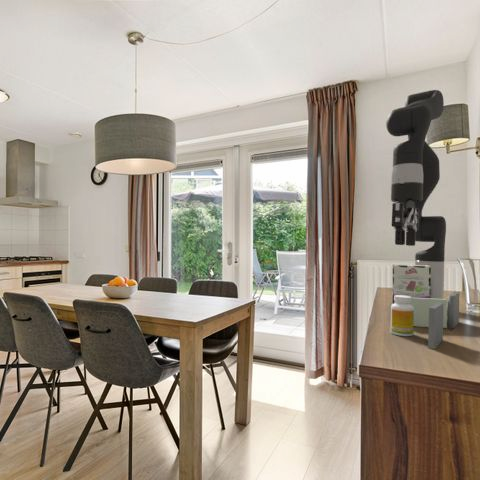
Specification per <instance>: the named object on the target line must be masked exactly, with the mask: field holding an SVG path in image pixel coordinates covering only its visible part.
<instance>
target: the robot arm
mask: <svg viewBox="0 0 480 480" xmlns="http://www.w3.org/2000/svg"><path fill="white" fill-rule="evenodd" d="M444 105H445V103H444V96H443V93H442V91H440V90H439V89H432V90H431V89H430V90H427V91H426V90H425V91H422V92H417V93H413V94H412V93H411V94H409V95H407V97H406V98H405V101H404V106H403V107H399V108H394V109H393V110H392V111H391V112H390V113H389V114H388V116H387V118H386V123H385V126H386V130H387V132H388V133H389V135H391V136H393V137H405V136H407V140H406V141H404V142H401V143H398V144H397V145H395V146H394V148H393V151H392V152H393V154H392V156H393V157H392V171H391V183H390V184H391V185H390V201H391V202H392V206H391V207H392V209H391V212H392V213H391V227H392V228H393V229H394V234H395V235H394V236H395V237H394V244H395V245H397V246H404V245H406V246H408V247H410V246H411V247H414V246H415V245H416V242H418V243H422V242H424V243H434V244H433V245H432V246H431V247H430V248H427V249H425V250H420V251H417V252H415V257H414V258H415V260H414V261H415V262H414V265H427V266H431V289H430V298H434V299H445V297H444V296H445V295H444V293H445V288H444V287H445V249H446V246H445V245H446V234H447V221H446V219H445V217H444V216H442V215H438V216H437V215H434V216H433V215H429V216H423V209H424V206H425V204H426V202H427V200H428V199H429V197H430V196H431V194H432V193H433V191H434V190H435V189H436V187H437V185H438V183H439V181H440V177H441V176H440V174H441V172H440V159H439V157H438V154H436V152H435V151H434V150H433V148H432V147H431V145H429V143H427V141H426V137H427V135H428V131H429V128H430V126H431V122H432V121H434V120H436V119H439V118H440V117H441V116H442V115H443V113H444V112H443V111H444V107H445V106H444Z"/></svg>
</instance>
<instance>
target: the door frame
mask: <svg viewBox="0 0 480 480" xmlns="http://www.w3.org/2000/svg"><path fill="white" fill-rule="evenodd" d="M443 306H444V303H439V302H438V303H436V304H435V305H433V306H431V307H430V308H429V327H428V342H427V343H428V344H427V345H428V346H427V349H432V350H435V349H436V348H438V346H439V345H440V343H442V342H443V340H444V328H443ZM459 322H460V291H459V292H458V291H454V292H452V293H451V294H449V295H447V328H446V329H448V330H449V329H450V330H454V329H455V327H456V326H457V325H458V324H459Z"/></svg>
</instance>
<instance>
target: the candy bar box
mask: <svg viewBox="0 0 480 480" xmlns="http://www.w3.org/2000/svg"><path fill="white" fill-rule="evenodd" d="M391 275H392V281H391V282H392V283H391V284H392V289H391V291H392V292H391V305H392V304H394V303H395V301H394V296H395V295H404V296H410V297H412V298H430V289H431V266H427V265H415V264H392V274H391Z"/></svg>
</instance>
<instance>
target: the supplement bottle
mask: <svg viewBox="0 0 480 480" xmlns="http://www.w3.org/2000/svg"><path fill="white" fill-rule="evenodd" d="M394 301H395V303H394V304H392V303H391V306H390V333H391V334H393V335H394V336H395V335H396V336H400V337H412V336H413V335H414V329H415V328H414V327H415V326H414V307H413V306H412V305H410V303H411V297H410V296H404V295H395V296H394Z"/></svg>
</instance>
